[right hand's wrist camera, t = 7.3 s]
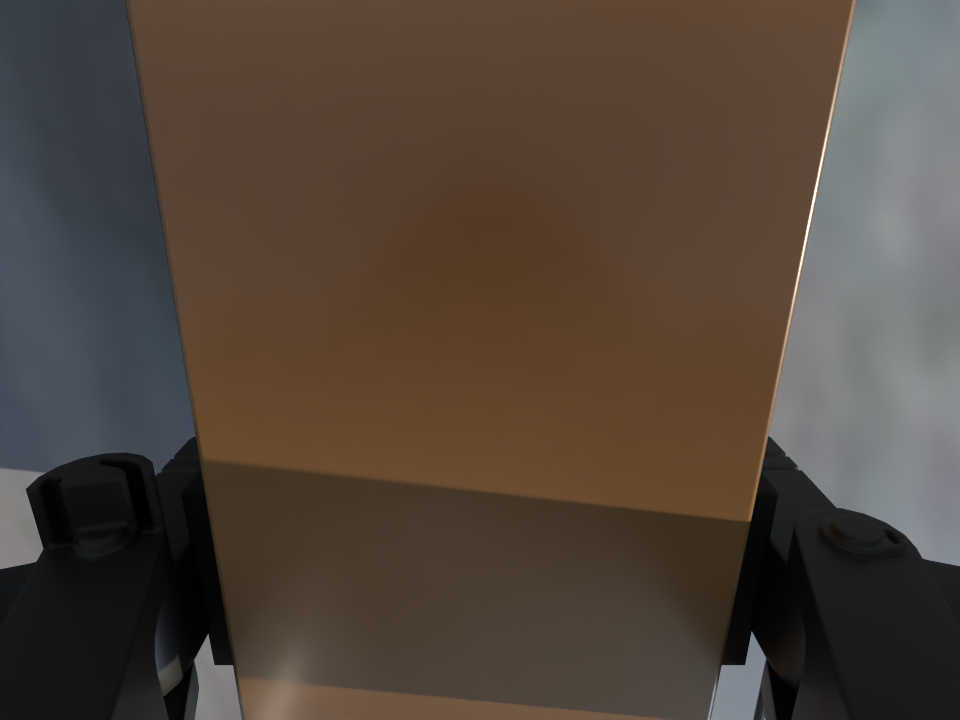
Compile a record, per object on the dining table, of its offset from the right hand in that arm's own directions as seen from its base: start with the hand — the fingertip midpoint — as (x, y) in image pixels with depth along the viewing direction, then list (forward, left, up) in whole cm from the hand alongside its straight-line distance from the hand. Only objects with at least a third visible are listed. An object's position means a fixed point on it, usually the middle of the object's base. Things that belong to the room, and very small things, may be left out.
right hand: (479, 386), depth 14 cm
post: (+12, +19, -1) cm, 23 cm away
